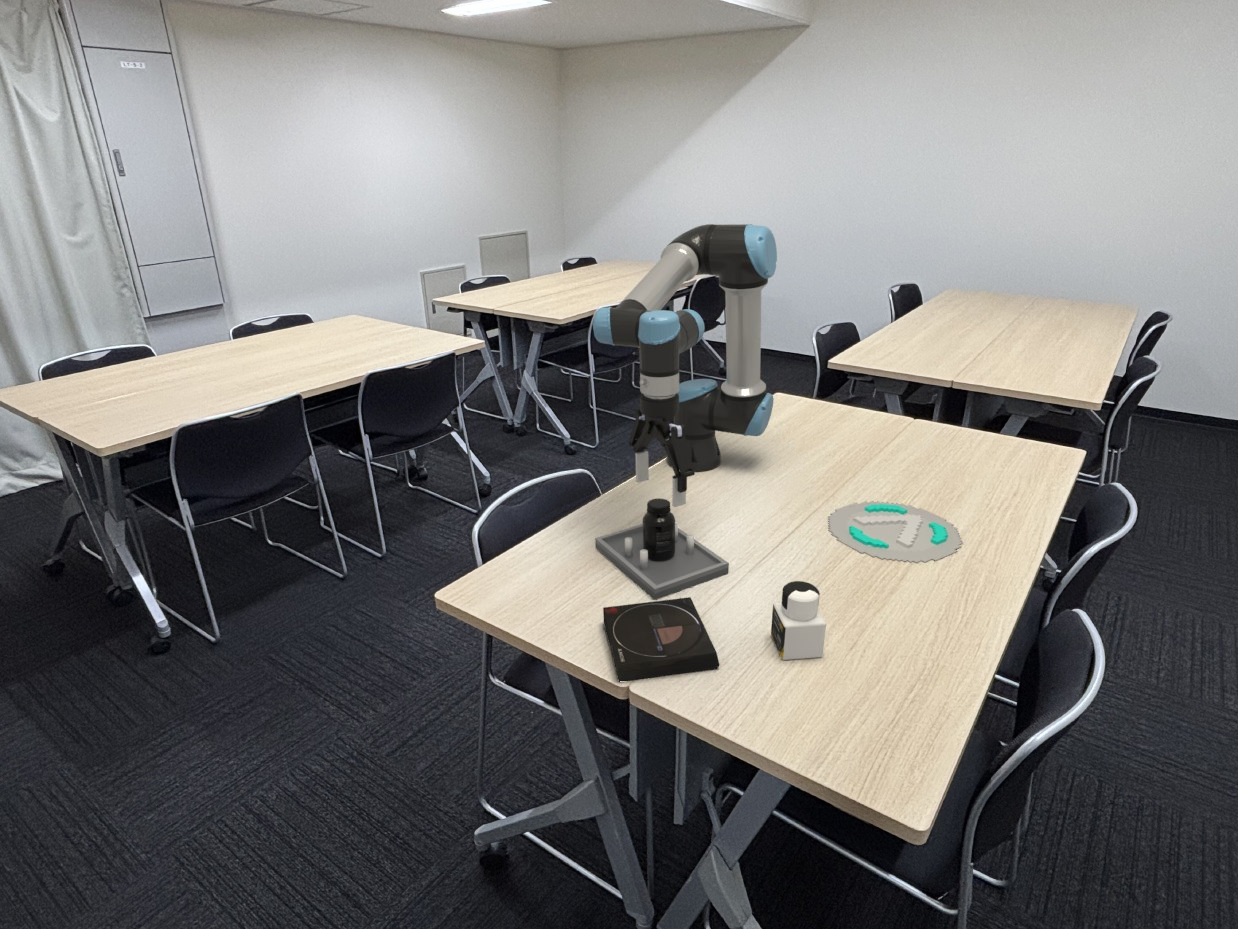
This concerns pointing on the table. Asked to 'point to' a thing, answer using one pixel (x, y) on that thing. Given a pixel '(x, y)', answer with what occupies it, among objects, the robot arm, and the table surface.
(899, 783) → the table surface
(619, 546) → the pin tray
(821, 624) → the medicine bottle
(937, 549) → the grey symbol plate
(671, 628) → the portable cd player
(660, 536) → the supplement bottle
